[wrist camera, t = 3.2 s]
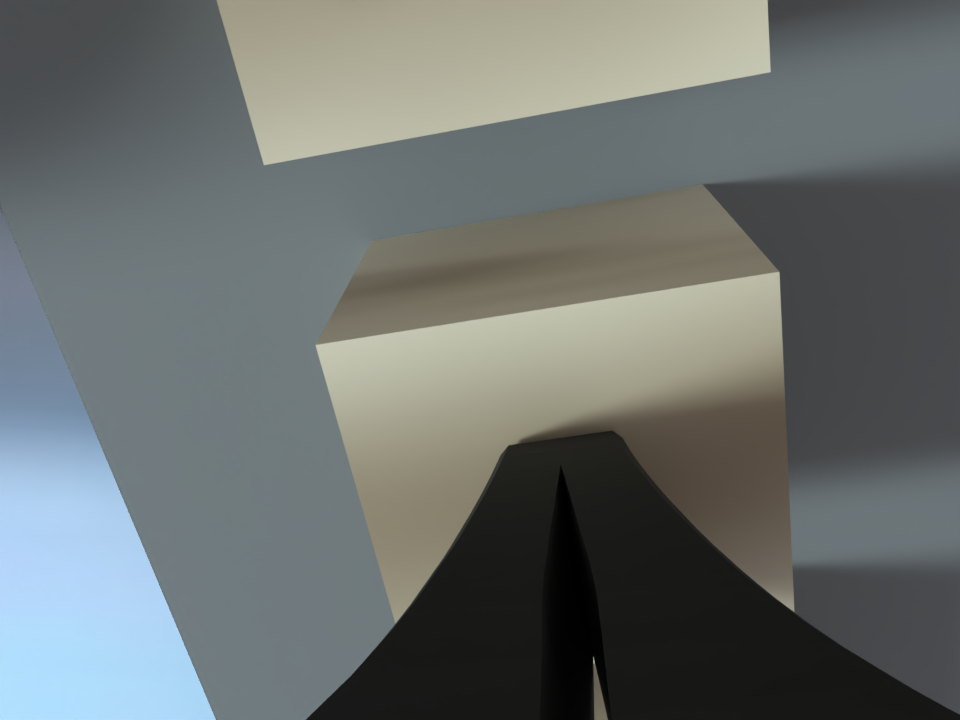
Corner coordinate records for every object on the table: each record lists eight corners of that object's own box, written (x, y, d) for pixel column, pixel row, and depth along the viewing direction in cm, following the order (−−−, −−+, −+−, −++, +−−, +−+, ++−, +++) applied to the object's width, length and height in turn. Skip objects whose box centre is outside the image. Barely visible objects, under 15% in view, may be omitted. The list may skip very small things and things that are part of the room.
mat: (1015, 769, 18) (1028, 790, 17) (280, 837, 19) (274, 857, 19) (1163, -715, 9) (1196, -752, 8) (-205, -345, 11) (-238, -360, 10)
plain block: (725, 473, 14) (795, 640, 11) (438, 511, 15) (412, 684, 11) (702, 184, 12) (779, 272, 9) (372, 240, 13) (315, 345, 9)
